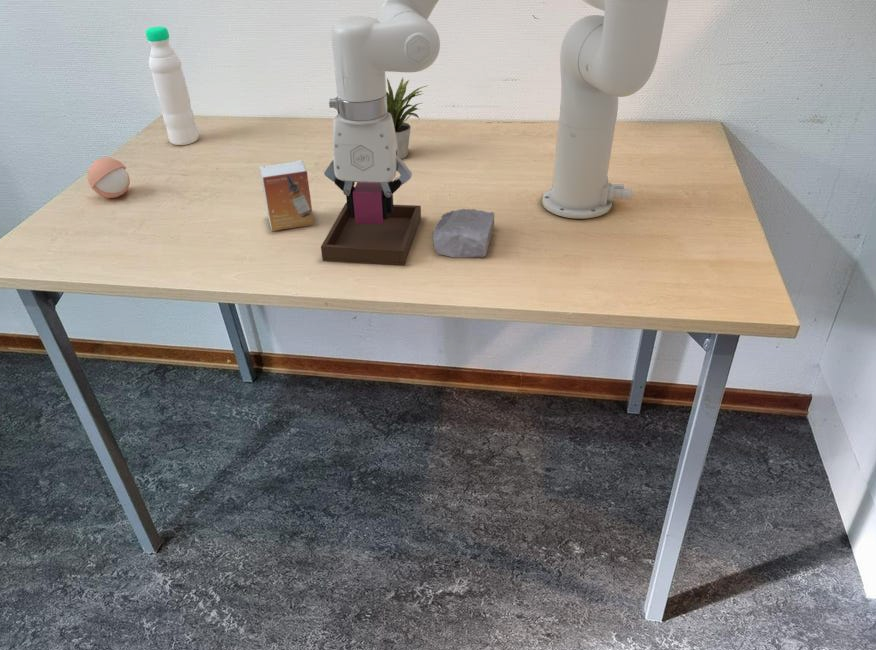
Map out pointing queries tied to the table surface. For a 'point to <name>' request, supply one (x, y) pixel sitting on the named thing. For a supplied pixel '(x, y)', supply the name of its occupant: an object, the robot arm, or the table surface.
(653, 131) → the table surface
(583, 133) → the robot arm
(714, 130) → the table surface
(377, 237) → the tray
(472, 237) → the stone block
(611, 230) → the table surface
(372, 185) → the pink block
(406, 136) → the house plant
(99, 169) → the toy ball
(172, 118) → the water bottle
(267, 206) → the small box
